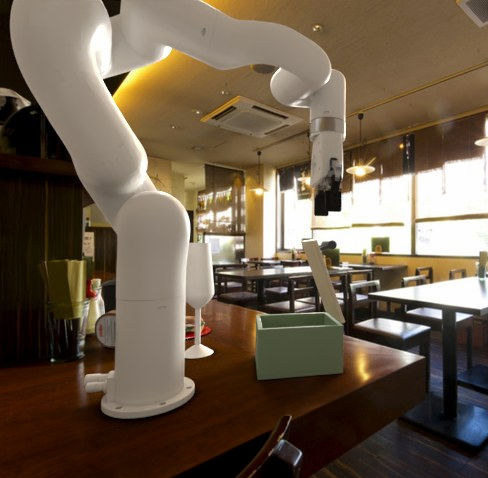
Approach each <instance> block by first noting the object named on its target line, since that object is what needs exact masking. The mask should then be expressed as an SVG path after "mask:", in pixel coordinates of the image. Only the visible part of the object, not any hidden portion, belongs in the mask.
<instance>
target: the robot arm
mask: <svg viewBox="0 0 488 478" xmlns="http://www.w3.org/2000/svg"><path fill="white" fill-rule="evenodd" d="M9 18H10V19H9V33H10V34H9V35H10V41H11V46H12V50H13V55H14V57H15V60H16V63H17V66H18V68H19V70H20V73H21V75H22V78H23V79H24V81H25V83H26V85H27V87H28V88H29V90H30V92H31V94H32V95H33V97H34V99H35V100H36V102H37V104H38V105H39V106H40V108H41V110H42V111H43V113H44V115H45V117H46V118H47V120H48V122H49V123H50V125H51V127H52V128H53V129H54V131H55V132H56V134H57V136H58V137H59V138H60V140H61V141H62V143H63V145H64V146H65V148H66V150H67V152H68V154H69V155H70V157H71V160H72V163H73V166H74V169H75V172H76V175H77V176H78V179H79V180H80V182H81V184H82V186H83V187H84V188H85V190H86V192H87V193H88V194H89V197H91V199H92V200H93V202H94V203H95V205H96V206H97V208H98V209H99V211H100V212H101V214H102V215H103V217H104V218H105V220H106V221H107V222H108V224H109V225H110V226H111V229H112V230H113V231H114V232H115V234H116V237H117V238H116V239H117V240H116V243H117V245H116V271H115V273H116V275H115V276H116V277H115V278H116V334H115V348H114V370H110V371H109V372H108V373H89V374H88V373H87V374H86V375H85V376H84V378H83V381H82V386H83V389H84V392H85V393H86V394H89V393H91V394H92V393H97V392H102V393H103V394H104V395H103V396H102V397H101V400H100V401H101V402H100V410H101V412H102V413H103V414H104V415H106V416H108V417H111V418H115V419H121V420H122V419H123V420H130V419H132V420H133V419H134V420H135V419H143V418H148V417H153V416H158V415H161V414H165V413H167V412H171V411H173V410H175V409H178V408H180V407H182V406H183V405H184V404H186V403H188V401H190V400H191V399H192V398H193V396H194V394H195V390H196V386H195V382H194V380H192V379H191V378H189V377H186V376H185V366H186V365H185V363H186V358H185V351H186V338H185V316H186V311H187V309H186V307H187V306H186V304H187V302H186V267H187V255H188V247H189V243H190V239H191V238H190V237H191V222H190V217H189V214H188V211H187V210H186V207H185V206H184V205H183V204H182V202H181V201H180V200H179V199H178V198H177V197H175V196H173V195H172V194H170V193H167V192H164V191H161V190H158V189H157V188H156V185H155V184H154V182H153V181H152V180H151V177H149V175H148V173H147V170H148V163H149V161H148V156H147V152H146V150H145V148H144V146H143V144H142V143H141V141H140V140H139V139H138V137H137V136H136V134H135V133H134V131H133V130H132V128H131V126H130V125H129V123H128V122H127V120H126V119H125V116H124V115H123V113H122V111H121V110H120V109H119V107H118V105H117V104H116V102H115V101H114V99H113V97H112V94H111V92H110V91H109V90H108V87H107V86H106V83H105V82H104V80H105V79H108V78H111V77H116V76H118V75H122V74H124V73H125V74H126V73H128V72H132V71H135V70H138V69H141V68H145V67H147V66H151V65H153V64H155V63H159V62H160V61H162V60H164V59H166V58H167V57H168V56H169V55H170V53H171V51H172V50H175V51H177V52H179V53H182V54H184V55H186V56H188V57H190V58H193V59H195V60H196V61H199V62H201V63H203V64H205V65H207V66H209V67H212V68H214V69H215V70H219V71H227V70H233V69H234V70H235V69H238V68H241V67H246V66H251V65H268V66H273V67H277V68H279V69H277V70H276V72H275V73H274V74H273V75H272V76H271V79H270V83H269V84H270V92H271V94H272V96H273V98H274V99H275V100H276V101H277V102H279V103H280V104H281V105H284V106H288V107H295V108H308V109H309V141H310V142H311V143H312V149H311V157H310V158H311V161H310V176H309V177H310V179H309V186H310V188H312V189H314V188H315V189H314V196H313V197H314V198H313V215H314V216H315V217H328V216H329V213H332V212H333V213H340V212H342V202H343V201H342V198H343V196H342V194H343V193H342V192H343V191H342V189H343V185H342V181H343V177H344V148H343V143H344V142H345V141H346V108H347V107H346V106H347V105H346V103H347V102H346V101H347V100H346V99H347V98H346V93H347V90H346V89H347V88H346V87H347V86H346V85H347V84H346V77H345V75H344V74H343V73H342V72H341V71H339V70H338V69H334V68H332V64H331V60H330V57H329V56H328V55H327V53H326V52H325V50H324V49H323V48H322V47H321V46H320V45H318V44H317V43H316V42H315V41H313V40H312V39H310V38H308V37H307V36H306V35H304V34H302V33H300V32H299V31H297V30H295V29H293V28H291V27H289V26H287V25H285V24H280V23H277V22H270V21H261V20H254V19H237V18H233V17H232V16H229V15H228V14H226V13H224V12H222V11H221V10H219V9H217V8H216V7H213V6H212V5H210V4H209V3H207V2H204V1H203V0H120V9H119V13H118V14H116V15H113V16H109V13H108V10H107V8H106V6H105V4H104V2H103V1H102V0H13V1H12V4H11V9H10V16H9Z"/></svg>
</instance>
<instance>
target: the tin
mask: <svg viewBox="0 0 488 478" xmlns="http://www.w3.org/2000/svg"><path fill="white" fill-rule="evenodd" d="M115 334H116V310H112V311H109V312H107V313H105V312H104V313H103V314H101V315H100V316H99V317H98V318H97V319H96V320H95V322H94V336H95V339H96V341H97V342H98V343H99V344H100V345H101V346H103V347H104V348H109V349H115Z"/></svg>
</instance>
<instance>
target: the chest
mask: <svg viewBox="0 0 488 478" xmlns="http://www.w3.org/2000/svg"><path fill="white" fill-rule="evenodd" d="M254 336H255V341H254V342H255V344H254V347H255V348H254V349H255V350H254V352H255V353H254V358H255V367H256V379H257V381H263V380H277V379H289V378H300V377H311V376H324V375H325V376H326V375H336V374H344V325H343V323H342V324H341V323H340V322H339V321H338V320H336V319H335V318H334V317H333V316H331V315H330V314H329V313H328V312H326V311H322V312H321V311H320V312H294V313H272V314H271V313H269V314H255V335H254Z"/></svg>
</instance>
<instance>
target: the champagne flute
mask: <svg viewBox="0 0 488 478" xmlns="http://www.w3.org/2000/svg"><path fill="white" fill-rule="evenodd" d="M212 258H213V257H212V245H211V242H189V247H188V255H187V267H186V304H188V306H190V307H191V308H193V309H194V317H195V337H194V345H191V346H190V347H189V348H187V349H185V359H200V358H201V359H202V358H206V357H209V356H212V354H213V353H214V350H213V349H211V348H209V347H208V346H205V345H203V344H201V336H202V335H201V318H202V308H204V307H205V306H206V305H207V304H208V303H209V302H210V301H211V300H212V299H213V297H214V295H215V282H214V281H215V280H214V269H213V259H212Z"/></svg>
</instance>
